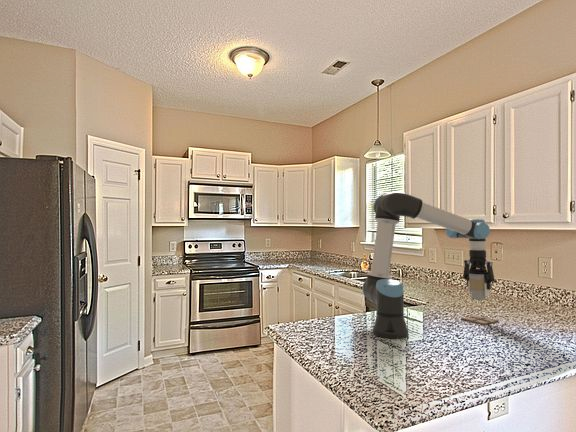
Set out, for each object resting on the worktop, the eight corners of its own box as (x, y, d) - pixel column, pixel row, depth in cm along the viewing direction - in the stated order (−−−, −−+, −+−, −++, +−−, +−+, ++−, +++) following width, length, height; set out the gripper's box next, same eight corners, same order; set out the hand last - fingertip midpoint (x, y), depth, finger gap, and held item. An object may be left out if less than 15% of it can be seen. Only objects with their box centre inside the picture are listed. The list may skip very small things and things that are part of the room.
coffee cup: (487, 301, 171) (487, 270, 172) (466, 299, 177) (465, 269, 178) (490, 298, 179) (489, 269, 179) (470, 296, 185) (469, 267, 185)
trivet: (483, 325, 169) (483, 322, 169) (461, 319, 180) (461, 317, 180) (498, 321, 175) (498, 319, 175) (475, 316, 186) (475, 314, 186)
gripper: (502, 250, 171) (504, 297, 171) (463, 248, 190) (464, 290, 189) (493, 250, 168) (494, 298, 167) (454, 248, 186) (455, 292, 185)
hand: (478, 294), depth 178 cm, fingers closed on coffee cup, 8 cm apart
